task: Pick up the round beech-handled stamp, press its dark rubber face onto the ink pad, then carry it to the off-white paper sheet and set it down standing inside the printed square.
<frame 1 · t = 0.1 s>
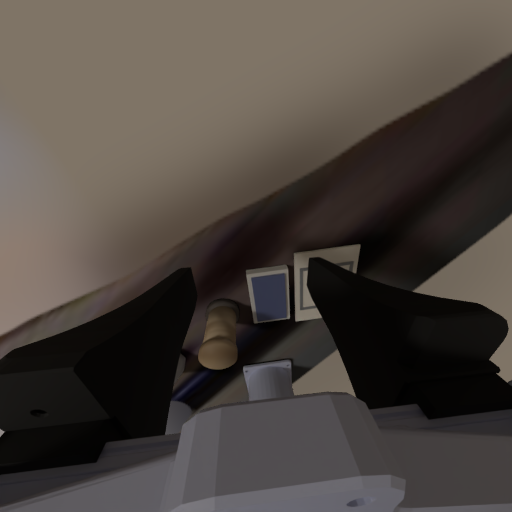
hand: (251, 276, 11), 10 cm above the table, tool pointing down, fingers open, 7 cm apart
stamp: (223, 311, 25), on the table
paper sheet: (324, 285, 25), on the table
ink pad: (268, 293, 24), on the table
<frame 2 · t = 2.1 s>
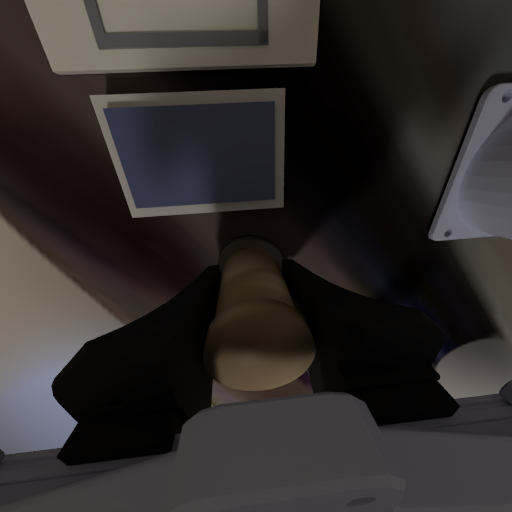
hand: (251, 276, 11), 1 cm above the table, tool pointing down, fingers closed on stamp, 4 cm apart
stamp: (250, 265, 13), on the table, touching gripper
ink pad: (204, 160, 10), on the table
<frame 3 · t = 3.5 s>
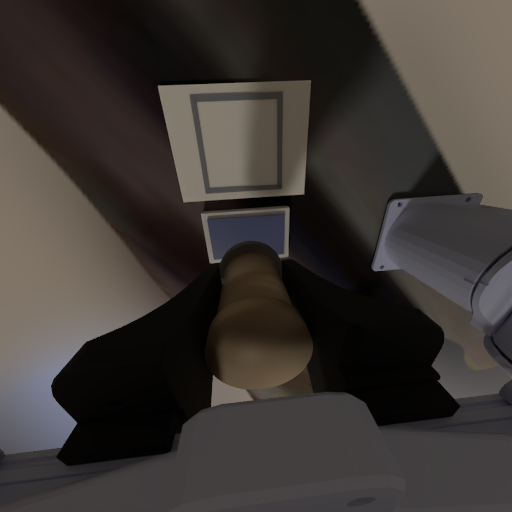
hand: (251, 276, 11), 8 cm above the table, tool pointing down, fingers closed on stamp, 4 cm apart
stamp: (251, 270, 13), point 6 cm above the table, touching gripper
paper sheet: (240, 147, 15), on the table
ink pad: (247, 233, 19), on the table
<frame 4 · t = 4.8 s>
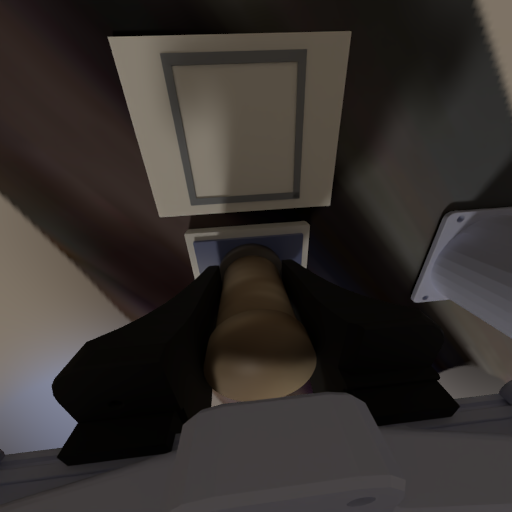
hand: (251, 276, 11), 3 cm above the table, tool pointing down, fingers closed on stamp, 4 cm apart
stamp: (251, 273, 13), point 1 cm above the table, touching gripper, ink pad
paper sheet: (241, 138, 10), on the table
ink pad: (249, 257, 14), on the table
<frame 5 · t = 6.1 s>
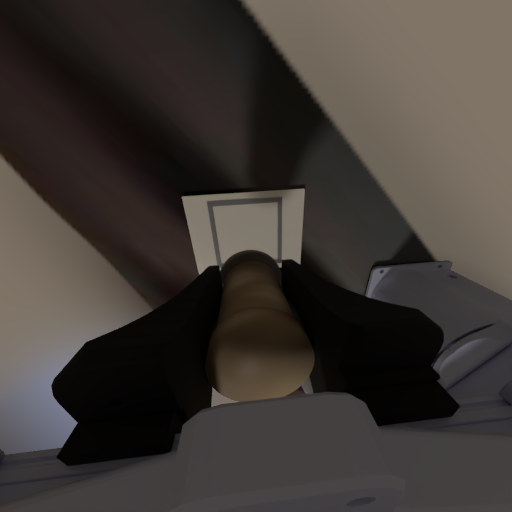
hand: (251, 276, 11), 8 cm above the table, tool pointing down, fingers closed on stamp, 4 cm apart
stamp: (250, 279, 13), point 7 cm above the table, tilted 5°, touching gripper
paper sheet: (247, 234, 18), on the table
when the fingers open (2 cm above the table, at t = 7.4 s): stamp stays where it is, resting on paper sheet.
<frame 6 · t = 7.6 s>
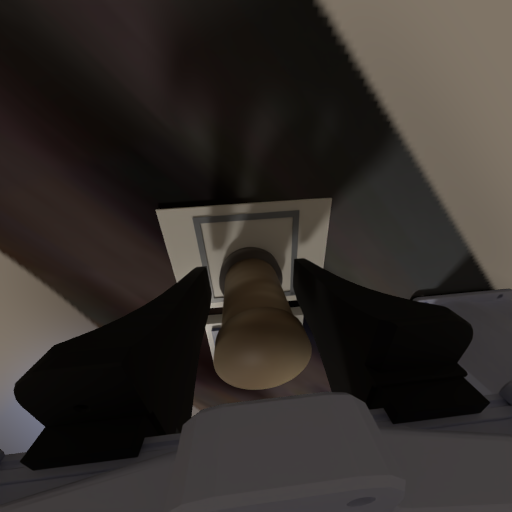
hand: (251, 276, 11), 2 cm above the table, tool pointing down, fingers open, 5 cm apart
stamp: (250, 274, 14), resting on paper sheet
paper sheet: (249, 258, 13), on the table
ink pad: (255, 331, 17), on the table
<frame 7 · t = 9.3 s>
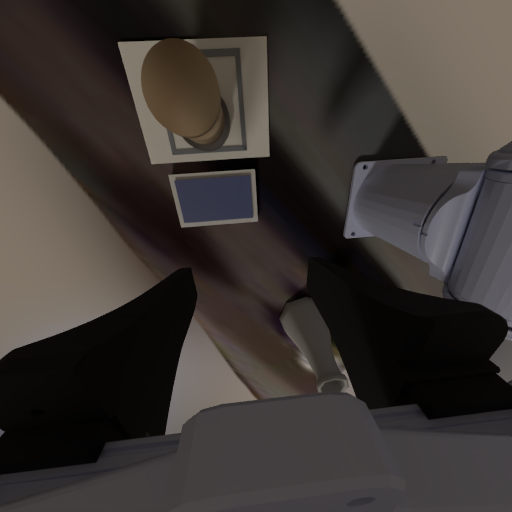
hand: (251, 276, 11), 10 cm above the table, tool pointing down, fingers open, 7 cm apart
stamp: (204, 122, 16), resting on paper sheet
paper sheet: (203, 107, 16), on the table
ink pad: (217, 198, 19), on the table
flask: (302, 314, 27), on the table
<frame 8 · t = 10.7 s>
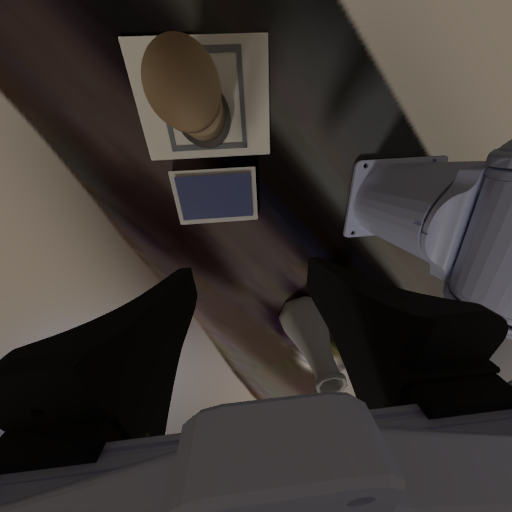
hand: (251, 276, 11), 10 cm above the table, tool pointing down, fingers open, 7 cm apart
stamp: (205, 118, 16), resting on paper sheet
paper sheet: (204, 104, 16), on the table
ink pad: (217, 195, 19), on the table
flask: (301, 313, 27), on the table
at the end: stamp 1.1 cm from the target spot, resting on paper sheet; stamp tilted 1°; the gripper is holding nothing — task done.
